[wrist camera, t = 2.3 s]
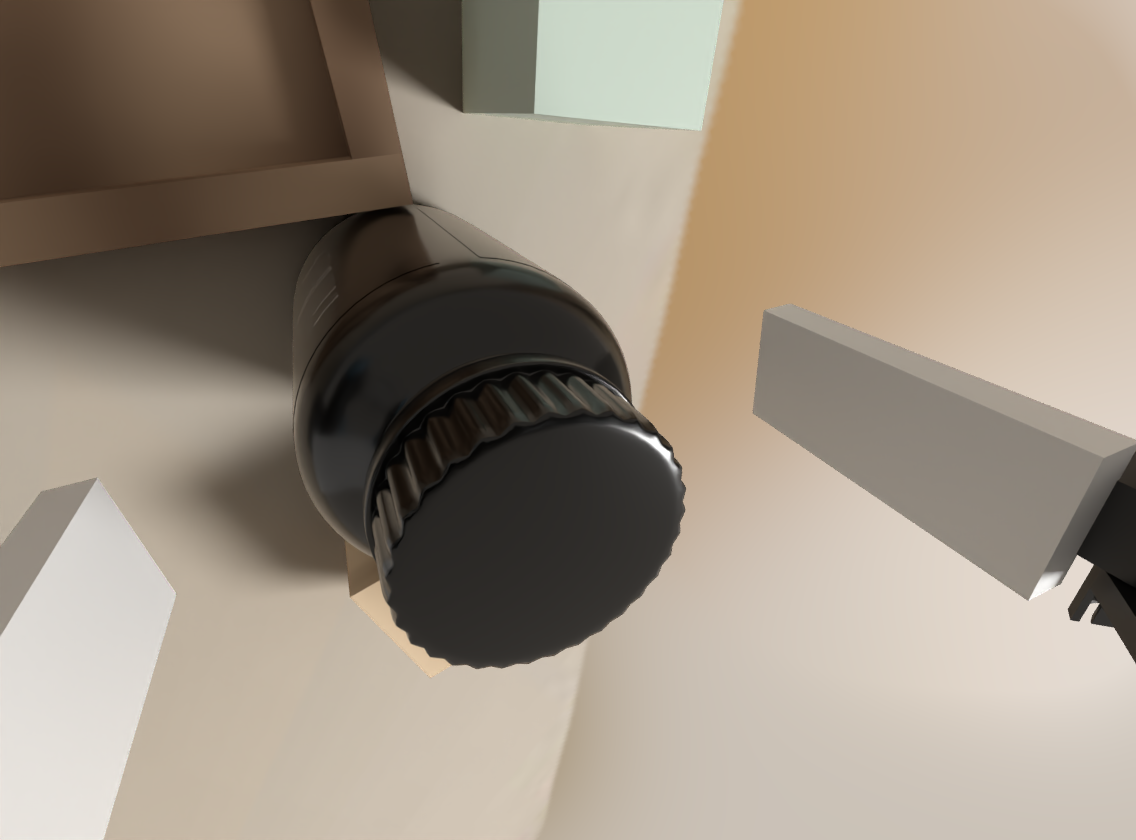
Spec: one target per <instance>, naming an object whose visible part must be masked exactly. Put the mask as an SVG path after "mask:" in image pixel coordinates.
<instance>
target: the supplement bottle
mask: <svg viewBox="0 0 1136 840" xmlns="http://www.w3.org/2000/svg"><path fill="white" fill-rule="evenodd" d="M292 355H293V437H294V446H295V453H296V459H297V464H298V468H299V472H300V476H301V478H302V481H303V484H304V486H305V489H306V491H307V493H308V495H309V497H310V499H311V500H312V502H313V504H314V506H315V507H316V509H317V510H318V512H319V513H320V514H321V516H322V517H323V519H324V520H325V521H326V522H327V523H328V524H329V525H330V526H331V527H332V529H333V530H334V531H336V532H337V533H338V534H339V535H340V536H341V537H342V538H343V539H345V540H346V541H347V542H348V543H350V544H351V545H353V546H354V547H356V548H357V549H358V550H360V551H361V552H363V553H365V554H367V555H369V556H370V557H372V558H374V560H375V562H376V564H377V569H378V574H379V579H380V585H381V590H382V594H383V597H384V599H385V601H386V603H387V604H388V605H389V607H390V612H391V616H392V619H393V621H394V623H395V625H396V626H397V627H398V628H400V629H401V630H403V631H405V632H406V635H407V638H408V640H409V642H410V644H412V645H415V646H418V647H421V648H424V649H425V651H426V653H427V654H428V655H429V657H432V658H440V659H445V660H446V661H447V662H448V663H449V664H451V665H469V666H471V667H473V668H475V669H480V668H486V667H490V666H492V667H497V668H505V667H508V666H511V665H514V664H529V663H531V662H533V661H536V660H538V659H540V658H542V657H550V656H554V655H556V654H558V653H559V652H561V651H563V650H564V649H566V648H569V647H573V646H576V645H579V644H580V643H582V642H583V641H584V640H585V639H587V638H588V637H589V636H591V635H593V634H596V633H598V632H600V631H602V630H603V629H604V628H605V627H606V626H607V625H608V624H609V623H610V622H611V621H612V620H614V619H616V618H618V617H619V616H621V615H622V614H623V613H624V612H625V611H626V610H627V608H628V607H629V606H630V604H631V603H633V602H634V601H635V600H637V599H638V598H639V597H641V596H642V594H643V593H644V591H645V589H646V587H647V586H648V585H649V584H650V583H651V582H652V581H653V580H654V579H655V578H656V577H657V576H658V574H659V572H660V569H661V566H662V565H663V563H664V562H665V561H666V560H667V559H668V557H669V556H670V555H671V551H672V546H673V543H674V541H675V540H676V539H677V537H678V535H679V534H680V521H681V519H682V517H683V515H684V512H685V507H684V504H683V499H684V495H685V491H686V487H685V485H684V483H683V482H682V481H681V476H682V466H681V465H680V464H679V462H678V461H677V460H676V459H675V458H674V453H673V448H672V446H671V445H670V444H669V442H668V441H667V440H666V439H665V438H664V437H663V436H662V435H661V434H659V433H658V431H657V430H656V428H655V427H654V425H653V424H652V423H651V422H649V420H647V419H646V418H645V417H644V416H643V415H642V414H641V413H639V412H638V411H637V410H636V409H635V408H634V406H633V405H632V395H631V384H630V378H629V373H628V368H627V365H626V361H625V358H624V355H623V352H622V350H621V347H620V345H619V343H618V340H617V339H616V337H615V335H614V333H613V332H612V330H611V328H610V326H609V325H608V324H607V322H606V321H605V320H604V318H603V317H602V315H601V314H600V313H599V312H598V311H597V310H596V309H595V308H594V307H593V306H592V304H590V303H589V302H588V301H587V300H586V299H585V298H583V297H582V296H581V295H580V294H579V293H578V292H576V291H575V290H574V289H573V288H571V287H570V286H569V285H567V284H566V283H564V282H563V281H561V280H560V279H558V278H557V277H555V276H554V275H552V274H551V273H549V272H547V271H546V270H544V269H543V268H541V267H539V266H538V265H536V264H535V263H533V262H531V261H530V260H528V259H527V258H525V257H523V256H522V255H520V254H519V253H517V252H515V251H514V250H512V249H511V248H509V247H507V246H506V245H504V244H503V243H501V242H499V241H498V240H496V239H495V238H493V237H491V236H490V235H488V234H487V233H485V232H483V231H482V230H480V229H479V228H477V227H475V226H474V225H472V224H470V223H468V222H467V221H465V220H463V219H461V218H459V217H457V216H455V215H453V214H450V213H448V212H446V211H443V210H440V209H436V208H433V207H428V206H423V205H415V204H410V205H404V206H397V207H390V208H384V209H377V210H371V211H364V212H359V213H357V214H355V215H353V216H351V217H349V218H347V219H345V220H344V221H342V222H340V223H339V224H338V225H336V226H335V227H334V228H332V229H331V230H330V231H329V232H328V233H327V234H326V235H325V236H323V237H322V238H321V240H320V241H319V242H318V243H317V244H316V246H315V247H314V248H313V250H312V251H311V253H310V254H309V256H308V257H307V259H306V261H305V263H304V265H303V267H302V269H301V272H300V275H299V277H298V280H297V284H296V288H295V293H294V301H293V318H292Z"/></svg>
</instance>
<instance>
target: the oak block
mask: <svg viewBox="0 0 1136 840" xmlns="http://www.w3.org/2000/svg"><path fill="white" fill-rule="evenodd" d="M345 549H346V560H347V571H348V581H349V592H350V598H351V599H352V600H353V601H354V602H355V603H356V604H357V605H358V606H359V607H360V608H361V609H362V610H363V611H364V612H365V613H366V614H367V615H368V616H369V617H370V618H371V619H372V620H373V621H374V622H375V623H376V624H377V625H378V626H379V627H380V628H381V629H382V630H383V631H384V632H385V633H386V634H387V635H388V636H389V637H390V638H391V639H392V640H393V641H394V642H395V643H396V644H397V645H398V646H399V647H400V648H401V649H402V650H403V651H404V652H405V653H406V654H407V655H408V656H409V657H410V658H411V659H412V660H413V661H414V662H415V663H416V664H417V665H418V666H419V667H420V668H421V669H422V670H423V671H424V672H425V673H426V674H427V675H428V676H429V677H430V678H432V677H433V676H435V675H436V674H438V673H440V672H441V671H443V670H445V669H446V668H448V667H450V666H451V664H449V663H448V662H447V661H446V660H445V659H440V658H432V657H429V655H428V654H427V653H426V651H425V649H424V648H421V647H418V646H415V645H412V644H410V642H409V640H408V638H407V635H406V632H405V631H403V630H401V629H400V628H398V627H397V626H396V625H395V623H394V621H393V619H392V616H391V612H390V607H389V605H388V604H387V603H386V601H385V599H384V597H383V594H382V590H381V585H380V579H379V574H378V569H377V564H376V562H375V560H374V558H372V557H370V556H369V555H367V554H365V553H363V552H361V551H360V550H358V549H357V548H356V547H354V546H353V545H351V544H350V543H348V542H347V541H346V540H345Z"/></svg>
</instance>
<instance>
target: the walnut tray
mask: <svg viewBox="0 0 1136 840" xmlns="http://www.w3.org/2000/svg"><path fill="white" fill-rule="evenodd" d="M410 204H413V200H412V196H411V191H410V187H409V182H408V178H407V173H406V169H405V164H404V159H403V155H402V150H401V146H400V141H399V137H398V132H397V128H396V123H395V119H394V114H393V110H392V105H391V101H390V96H389V91H388V87H387V82H386V78H385V73H384V69H383V64H382V60H381V55H380V51H379V46H378V42H377V37H376V33H375V28H374V23H373V19H372V14H371V10H370V5H369V1H368V0H0V267H5V266H12V265H18V264H25V263H31V262H38V261H44V260H51V259H57V258H64V257H70V256H77V255H83V254H90V253H96V252H103V251H110V250H116V249H123V248H129V247H136V246H142V245H149V244H155V243H162V242H168V241H175V240H181V239H188V238H194V237H201V236H208V235H214V234H221V233H227V232H234V231H240V230H247V229H253V228H260V227H266V226H273V225H279V224H286V223H292V222H299V221H306V220H312V219H319V218H325V217H332V216H338V215H345V214H351V213H358V212H364V211H371V210H377V209H384V208H390V207H397V206H404V205H410Z"/></svg>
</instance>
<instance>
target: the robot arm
mask: <svg viewBox="0 0 1136 840" xmlns="http://www.w3.org/2000/svg"><path fill="white" fill-rule="evenodd" d="M753 414H755V415H756V416H758V417H759V418H761V419H762V420H764V421H765V422H767V423H768V424H770V425H771V426H773V427H774V428H775V429H777V430H778V431H780V432H781V433H783V434H784V435H786V436H787V437H789V438H790V439H792V440H793V441H795V442H796V443H797V444H799V445H800V446H802V447H803V448H805V449H806V450H808V451H809V452H811V453H812V454H813V455H815V456H816V457H818V458H819V459H821V460H822V461H824V462H825V463H827V464H828V465H830V466H831V467H833V468H834V469H835V470H837V471H838V472H840V473H841V474H843V475H844V476H846V477H847V478H849V479H850V480H852V481H853V482H855V483H856V484H858V485H859V486H860V487H862V488H863V489H865V490H866V491H868V492H869V493H871V494H872V495H874V496H875V497H877V498H878V499H880V500H881V501H883V502H884V503H885V504H887V505H888V506H890V507H891V508H893V509H894V510H896V511H897V512H899V513H900V514H902V515H903V516H905V517H906V518H907V519H909V520H910V521H912V522H913V523H915V524H916V525H918V526H919V527H921V528H922V529H924V530H925V531H926V532H928V533H930V534H931V535H932V536H934V537H935V538H937V539H938V540H940V541H941V542H943V543H944V544H946V545H947V546H949V547H950V548H952V549H953V550H954V551H956V552H957V553H959V554H960V555H962V556H963V557H965V558H966V559H968V560H969V561H971V562H972V563H973V564H975V565H976V566H978V567H979V568H981V569H982V570H984V571H985V572H987V573H988V574H990V575H991V576H993V577H994V578H995V579H997V580H998V581H1000V582H1001V583H1003V584H1004V585H1006V586H1007V587H1009V588H1010V589H1012V590H1013V591H1015V592H1016V593H1018V594H1019V595H1020V596H1022V597H1023V598H1025V599H1026V600H1028V601H1029V600H1031V599H1033V598H1035V597H1036V596H1039V595H1040V594H1042V593H1044V592H1046V591H1048V590H1050V589H1052V588H1054V587H1056V586H1058V585H1060V584H1061V583H1062V580H1063V579H1064V577H1065V575H1066V574H1067V572H1068V570H1069V568H1070V566H1071V565H1072V563H1073V561H1074V559H1075V558H1076V556H1077V555H1079V556H1080V557H1082V558H1084V559H1086V560H1087V561H1089V562H1091V563H1093V564H1094V566H1093V568H1092V569H1091V571H1090V573H1089V574H1088V576H1087V578H1086V580H1085V581H1084V583H1083V584H1082V586H1081V588H1080V589H1079V591H1078V593H1077V595H1076V596H1075V598H1074V600H1073V601H1072V603H1071V605H1070V606H1069V608H1068V612H1069V616H1070V620H1073V621H1080V619H1081V617H1082V616H1083V614H1084V613H1085V611H1086V609H1087V608H1088V606H1089V604H1091V603H1100V604H1099V606H1098V607H1097V609H1096V610H1095V612H1094V613H1093V615H1092V619H1091V623H1092V624H1097V625H1102V626H1108V627H1114V628H1115V630H1116V631H1117V633H1118V635H1119V636H1120V638H1121V640H1122V641H1123V643H1124V645H1125V646H1126V648H1127V650H1128V651H1129V653H1130V655H1131V656H1132V658H1133V660H1134V661H1135V663H1136V440H1135V439H1132V438H1130V437H1127V436H1125V435H1122V434H1120V433H1117V432H1115V431H1112V430H1110V429H1107V428H1105V427H1102V426H1099V425H1097V424H1094V423H1092V422H1089V421H1087V420H1084V419H1082V418H1079V417H1077V416H1074V415H1072V414H1069V413H1066V412H1064V411H1061V410H1059V409H1056V408H1054V407H1051V406H1049V405H1046V404H1044V403H1041V402H1039V401H1036V400H1033V399H1031V398H1029V397H1026V396H1023V395H1021V394H1018V393H1016V392H1013V391H1011V390H1008V389H1006V388H1003V387H1001V386H998V385H996V384H993V383H990V382H988V381H985V380H983V379H980V378H978V377H975V376H973V375H970V374H968V373H965V372H963V371H960V370H958V369H955V368H953V367H950V366H947V365H945V364H942V363H940V362H937V361H935V360H932V359H930V358H927V357H924V356H922V355H920V354H917V353H914V352H912V351H909V350H907V349H904V348H902V347H899V346H896V345H894V344H892V343H889V342H886V341H884V340H882V339H879V338H877V337H874V336H871V335H869V334H866V333H864V332H861V331H859V330H856V329H854V328H851V327H849V326H846V325H844V324H841V323H838V322H836V321H833V320H831V319H828V318H826V317H823V316H821V315H818V314H816V313H813V312H811V311H808V310H805V309H803V308H800V307H798V306H795V305H793V304H787V305H783V306H779V307H775V308H771V309H767V310H764V313H763V322H762V331H761V341H760V350H759V359H758V368H757V378H756V388H755V397H754V406H753ZM175 597H176V592H175V591H174V589H173V588H172V587H171V585H170V584H169V582H168V581H167V579H166V578H165V576H164V575H163V573H162V572H161V570H160V569H159V567H158V566H157V564H156V563H155V561H154V560H153V558H152V557H151V556H150V554H149V553H148V551H147V550H146V548H145V547H144V545H143V544H142V542H141V541H140V539H139V538H138V536H137V535H136V533H135V532H134V530H133V529H132V527H131V526H130V525H129V523H128V522H127V520H126V519H125V517H124V516H123V514H122V513H121V511H120V510H119V508H118V507H117V505H116V504H115V502H114V501H113V499H112V498H111V497H110V495H109V494H108V492H107V491H106V489H105V488H104V486H103V485H102V483H101V482H100V480H99V479H98V478H94V479H90V480H86V481H82V482H78V483H74V484H70V485H66V486H62V487H58V488H54V489H50V490H46V491H42V492H41V493H40V494H39V495H38V497H37V498H36V499H35V501H34V502H33V503H32V505H31V506H30V507H29V509H28V510H27V511H26V513H25V514H24V516H23V517H22V518H21V520H20V521H19V522H18V524H17V525H16V526H15V528H14V529H13V530H12V532H11V533H10V534H9V536H8V537H7V538H6V540H5V541H4V543H3V544H2V545H1V547H0V840H103V839H104V836H105V832H106V829H107V826H108V822H109V819H110V816H111V812H112V809H113V806H114V802H115V799H116V795H117V792H118V789H119V785H120V782H121V779H122V775H123V772H124V769H125V765H126V762H127V759H128V755H129V752H130V748H131V745H132V742H133V738H134V735H135V732H136V728H137V725H138V722H139V718H140V715H141V712H142V708H143V705H144V702H145V698H146V695H147V691H148V688H149V685H150V681H151V678H152V675H153V671H154V668H155V665H156V661H157V658H158V655H159V651H160V648H161V644H162V641H163V638H164V634H165V631H166V628H167V624H168V621H169V618H170V614H171V611H172V608H173V604H174V601H175Z"/></svg>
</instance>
